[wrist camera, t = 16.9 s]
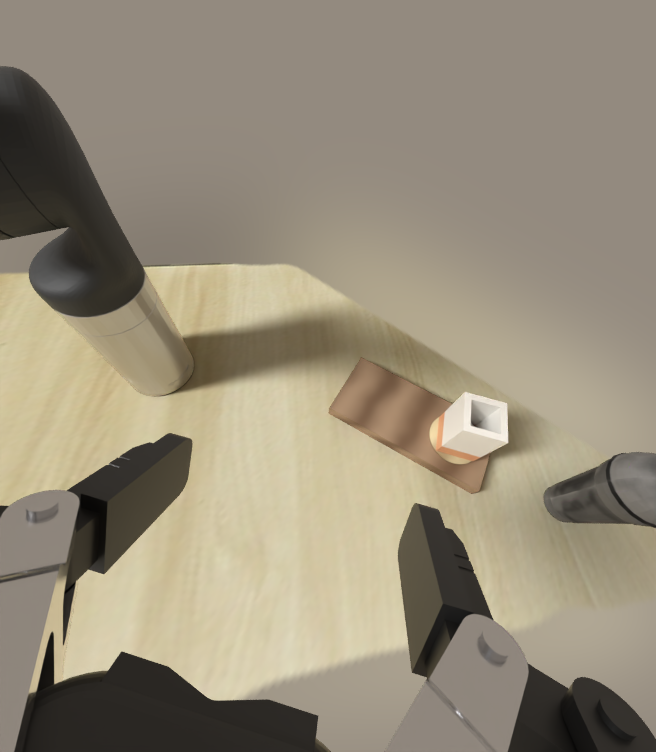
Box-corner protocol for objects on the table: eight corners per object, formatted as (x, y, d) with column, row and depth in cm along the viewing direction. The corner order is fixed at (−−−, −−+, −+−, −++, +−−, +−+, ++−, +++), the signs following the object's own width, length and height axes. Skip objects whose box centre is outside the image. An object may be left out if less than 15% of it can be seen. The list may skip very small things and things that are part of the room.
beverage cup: (548, 464, 44) (710, 408, 26) (597, 505, 41) (809, 472, 24) (523, 501, 41) (686, 465, 24) (574, 547, 39) (796, 544, 21)
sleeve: (473, 461, 41) (508, 442, 34) (435, 450, 41) (463, 430, 34) (474, 427, 43) (507, 403, 36) (439, 417, 44) (465, 391, 37)
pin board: (328, 413, 45) (332, 392, 39) (359, 364, 50) (366, 338, 44) (471, 493, 41) (500, 483, 35) (490, 432, 46) (518, 414, 40)
